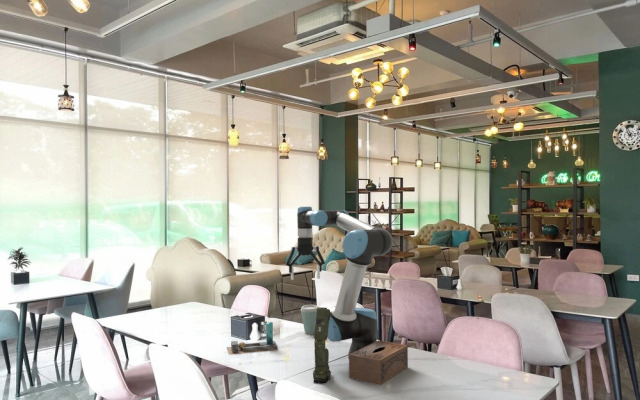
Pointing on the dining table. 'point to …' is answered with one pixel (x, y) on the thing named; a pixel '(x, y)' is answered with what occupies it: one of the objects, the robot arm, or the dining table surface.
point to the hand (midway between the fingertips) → (305, 278)
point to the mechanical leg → (321, 346)
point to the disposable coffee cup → (309, 318)
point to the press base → (250, 348)
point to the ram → (268, 335)
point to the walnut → (242, 345)
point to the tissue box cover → (378, 362)
